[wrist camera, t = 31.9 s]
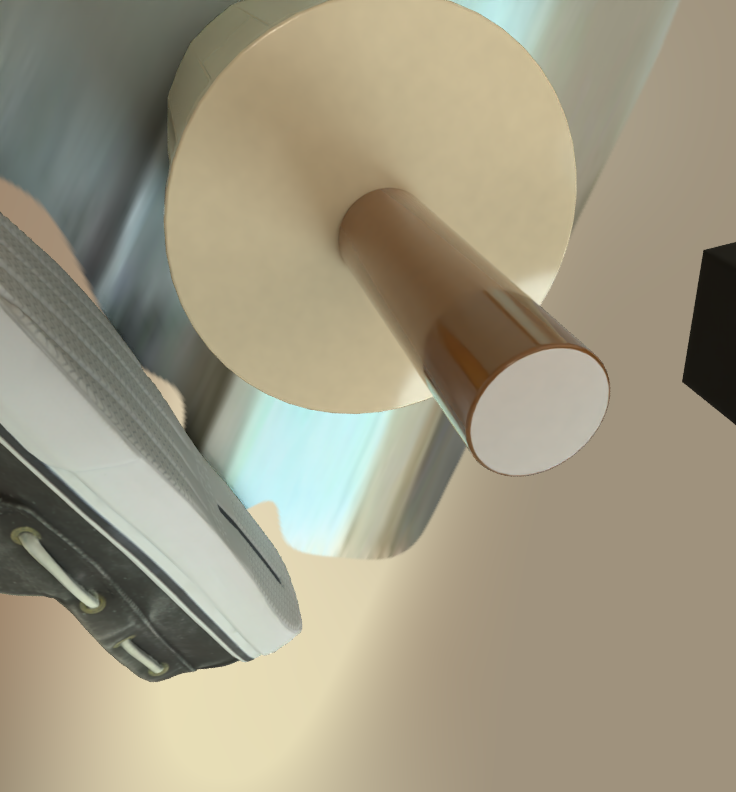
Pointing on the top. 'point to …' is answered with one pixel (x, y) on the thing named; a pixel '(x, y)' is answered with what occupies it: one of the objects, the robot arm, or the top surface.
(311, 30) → the lid
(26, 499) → the boat shoe
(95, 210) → the top surface
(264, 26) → the pot
